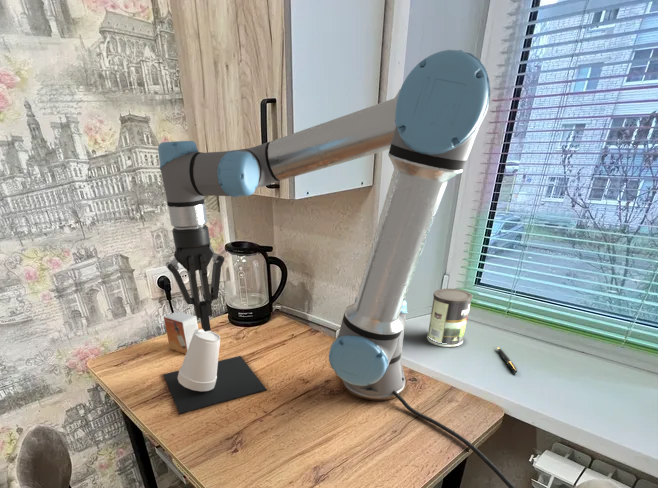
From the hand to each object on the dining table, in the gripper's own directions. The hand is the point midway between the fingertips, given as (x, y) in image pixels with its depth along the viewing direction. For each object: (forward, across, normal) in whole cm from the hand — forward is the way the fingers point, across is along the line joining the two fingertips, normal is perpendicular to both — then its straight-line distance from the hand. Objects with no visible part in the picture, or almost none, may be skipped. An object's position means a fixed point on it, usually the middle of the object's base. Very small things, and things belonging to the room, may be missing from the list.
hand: (206, 328), depth 99 cm
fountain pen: (+16, -73, +27) cm, 80 cm away
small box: (+15, +2, -23) cm, 28 cm away
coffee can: (+16, -69, +9) cm, 71 cm away
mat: (+15, 0, 0) cm, 15 cm away
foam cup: (+1, 0, +1) cm, 2 cm away
